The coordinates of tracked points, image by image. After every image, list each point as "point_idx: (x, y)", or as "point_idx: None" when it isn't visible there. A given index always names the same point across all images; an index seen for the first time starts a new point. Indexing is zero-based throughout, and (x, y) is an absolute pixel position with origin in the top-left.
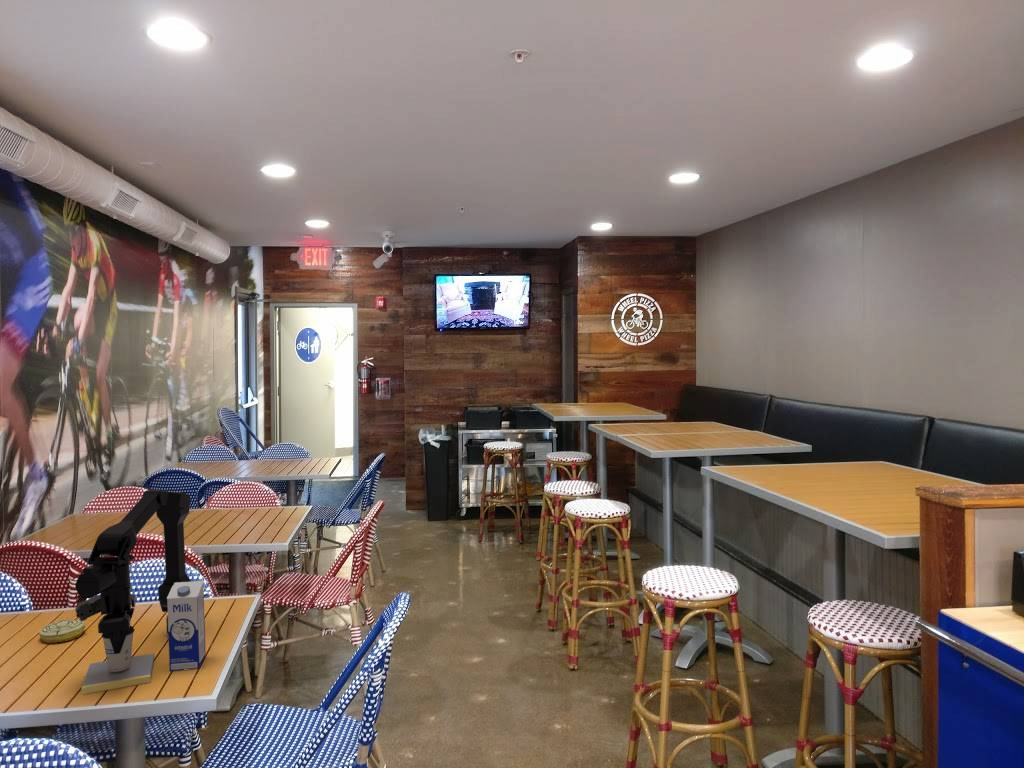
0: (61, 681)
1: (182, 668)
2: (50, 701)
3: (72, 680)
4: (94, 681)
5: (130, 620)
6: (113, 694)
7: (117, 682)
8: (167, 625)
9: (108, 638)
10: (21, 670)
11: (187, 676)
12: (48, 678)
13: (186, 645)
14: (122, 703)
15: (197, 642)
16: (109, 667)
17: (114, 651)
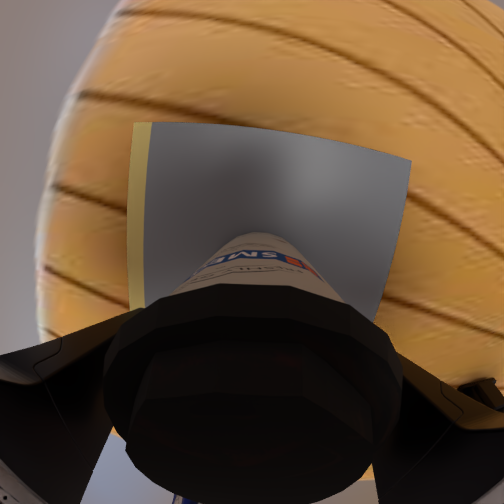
0: (335, 53)
1: None
2: (152, 34)
3: (323, 86)
4: (174, 169)
5: (378, 494)
6: (97, 236)
7: (127, 258)
8: (484, 397)
9: (112, 342)
10: (470, 7)
11: None
12: (387, 27)
13: None
14: (41, 258)
15: (174, 494)
16: (231, 241)
17: (126, 314)
